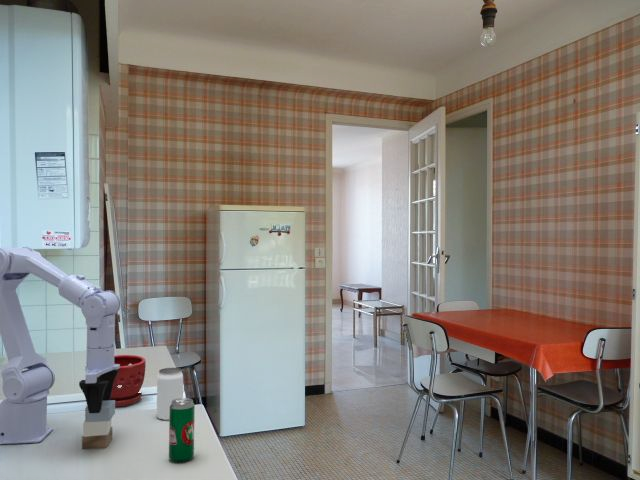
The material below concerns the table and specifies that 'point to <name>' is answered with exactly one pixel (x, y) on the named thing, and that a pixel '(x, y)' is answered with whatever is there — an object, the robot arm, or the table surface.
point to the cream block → (96, 428)
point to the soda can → (181, 430)
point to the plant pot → (128, 379)
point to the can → (168, 390)
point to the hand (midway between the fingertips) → (99, 406)
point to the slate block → (101, 412)
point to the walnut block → (97, 441)
